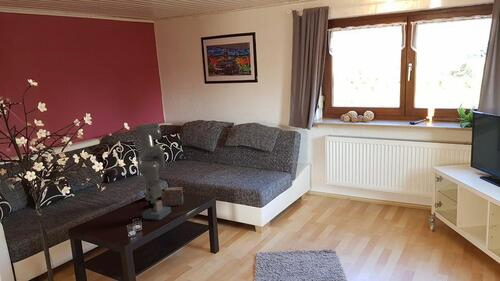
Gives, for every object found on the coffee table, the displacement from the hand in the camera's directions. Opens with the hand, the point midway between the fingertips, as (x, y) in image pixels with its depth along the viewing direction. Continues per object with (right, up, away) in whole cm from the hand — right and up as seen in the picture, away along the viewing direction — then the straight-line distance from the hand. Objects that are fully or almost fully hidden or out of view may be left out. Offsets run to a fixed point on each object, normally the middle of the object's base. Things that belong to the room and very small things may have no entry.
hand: (155, 205), depth 262 cm
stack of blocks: (+5, -3, +22) cm, 22 cm away
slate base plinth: (0, -7, +1) cm, 7 cm away
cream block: (0, -3, +1) cm, 3 cm away
